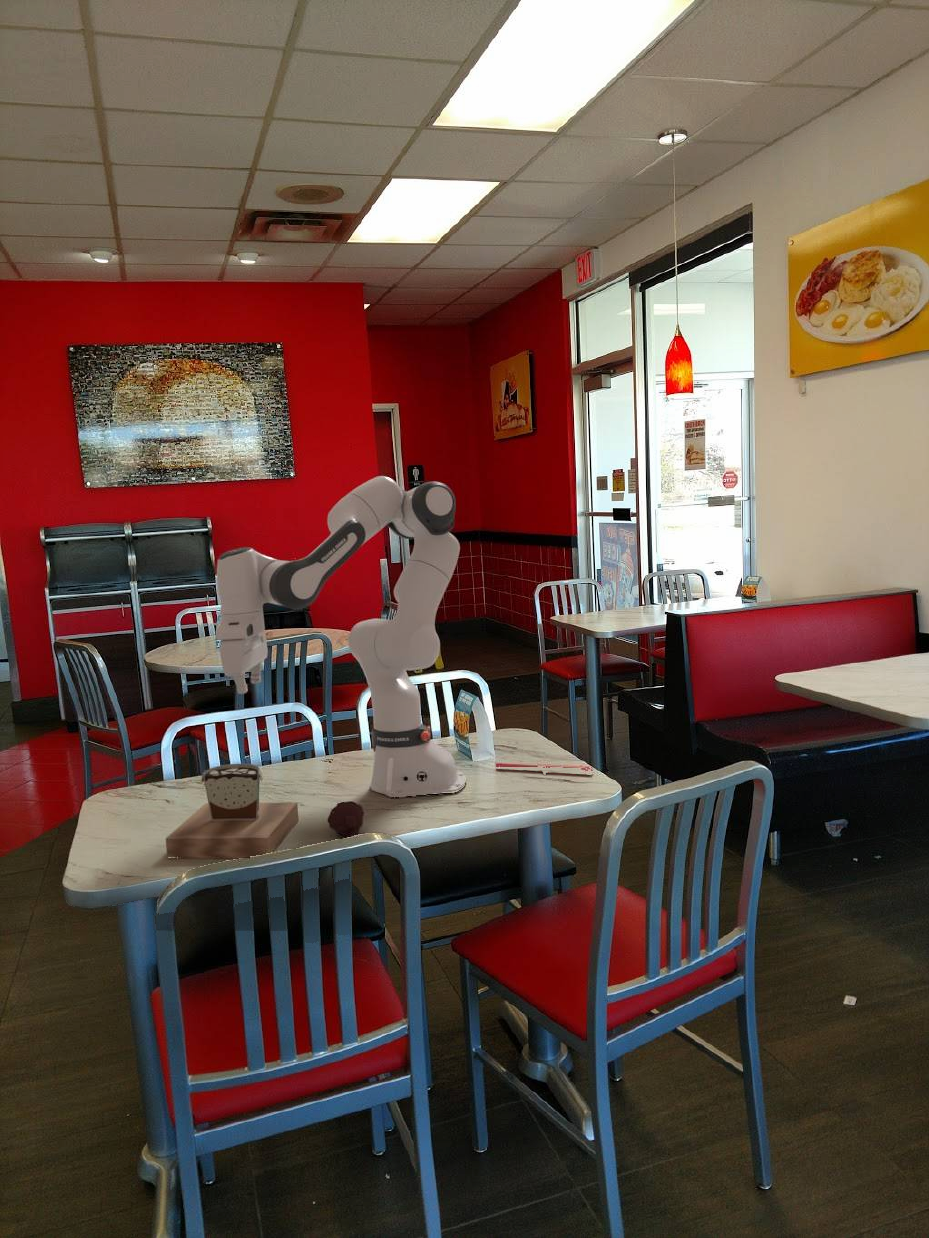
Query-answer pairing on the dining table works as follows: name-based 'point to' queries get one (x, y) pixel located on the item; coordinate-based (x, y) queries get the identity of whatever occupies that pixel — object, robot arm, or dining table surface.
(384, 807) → the dining table surface
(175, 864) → the dining table surface
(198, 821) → the walnut block
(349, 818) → the icecream
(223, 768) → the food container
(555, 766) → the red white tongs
